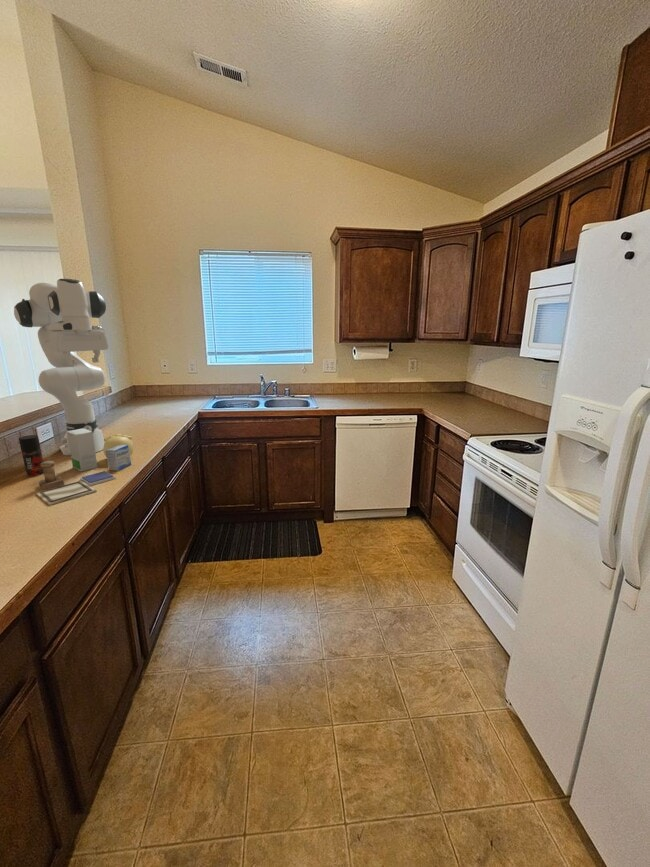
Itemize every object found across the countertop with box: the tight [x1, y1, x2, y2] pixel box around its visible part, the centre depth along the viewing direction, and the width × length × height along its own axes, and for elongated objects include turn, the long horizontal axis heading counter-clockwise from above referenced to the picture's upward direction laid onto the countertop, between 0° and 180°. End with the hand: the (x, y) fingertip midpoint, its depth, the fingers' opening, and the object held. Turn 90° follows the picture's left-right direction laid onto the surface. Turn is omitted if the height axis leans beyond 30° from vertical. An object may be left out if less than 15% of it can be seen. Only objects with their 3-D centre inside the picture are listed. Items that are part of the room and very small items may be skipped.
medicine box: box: [105, 445, 132, 472], centre depth 156 cm, size 8×4×9 cm, turn 168°
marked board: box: [35, 480, 97, 507], centre depth 132 cm, size 14×14×1 cm
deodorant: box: [18, 434, 44, 477], centre depth 149 cm, size 6×6×15 cm
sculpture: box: [103, 433, 134, 458], centre depth 166 cm, size 12×12×11 cm
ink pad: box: [79, 470, 117, 487], centre depth 144 cm, size 9×9×1 cm
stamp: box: [38, 460, 65, 491], centre depth 138 cm, size 6×6×9 cm
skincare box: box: [66, 428, 98, 472], centre depth 155 cm, size 8×7×16 cm
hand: (84, 363), depth 144 cm, fingers open, 8 cm apart
